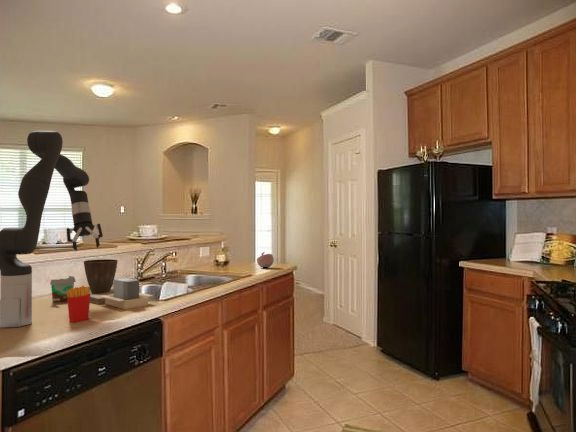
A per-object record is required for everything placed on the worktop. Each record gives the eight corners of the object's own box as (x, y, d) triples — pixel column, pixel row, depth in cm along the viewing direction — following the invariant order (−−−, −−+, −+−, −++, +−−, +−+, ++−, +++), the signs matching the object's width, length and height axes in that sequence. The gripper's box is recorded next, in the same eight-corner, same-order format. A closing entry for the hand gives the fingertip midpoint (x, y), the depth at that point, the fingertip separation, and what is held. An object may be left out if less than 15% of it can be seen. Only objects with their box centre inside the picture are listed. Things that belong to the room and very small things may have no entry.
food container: (62, 303, 188) (62, 280, 188) (50, 303, 189) (50, 279, 189) (81, 298, 200) (81, 276, 200) (69, 297, 201) (69, 275, 201)
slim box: (127, 307, 176) (127, 281, 176) (113, 303, 184) (113, 279, 184) (139, 305, 180) (139, 280, 180) (125, 301, 187) (125, 277, 187)
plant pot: (84, 292, 215) (84, 259, 215) (117, 290, 220) (117, 258, 220) (82, 297, 201) (82, 262, 201) (117, 295, 206) (117, 261, 206)
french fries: (85, 317, 162) (84, 284, 162) (92, 318, 160) (92, 285, 160) (64, 322, 155) (64, 288, 155) (71, 323, 153) (71, 288, 153)
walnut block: (98, 306, 182) (98, 298, 182) (85, 302, 190) (85, 295, 190) (125, 301, 191) (125, 294, 191) (111, 298, 199) (111, 291, 199)
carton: (118, 312, 171) (118, 300, 171) (98, 306, 182) (98, 296, 182) (153, 306, 182) (153, 295, 182) (133, 301, 193) (133, 291, 193)
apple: (266, 266, 322) (266, 251, 322) (277, 268, 312) (277, 252, 312) (253, 268, 314) (253, 252, 314) (263, 269, 305) (263, 253, 305)
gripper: (62, 214, 191) (68, 250, 188) (98, 209, 197) (104, 244, 194) (64, 218, 198) (70, 253, 195) (99, 213, 204) (104, 247, 200)
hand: (87, 248), depth 194 cm, fingers open, 8 cm apart
